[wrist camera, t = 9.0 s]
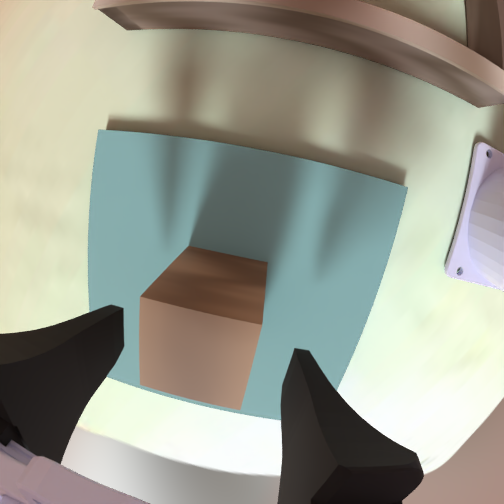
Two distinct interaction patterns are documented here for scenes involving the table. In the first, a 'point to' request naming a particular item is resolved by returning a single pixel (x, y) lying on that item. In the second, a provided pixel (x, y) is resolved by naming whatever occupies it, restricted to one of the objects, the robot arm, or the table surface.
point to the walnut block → (202, 326)
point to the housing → (348, 35)
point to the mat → (242, 244)
